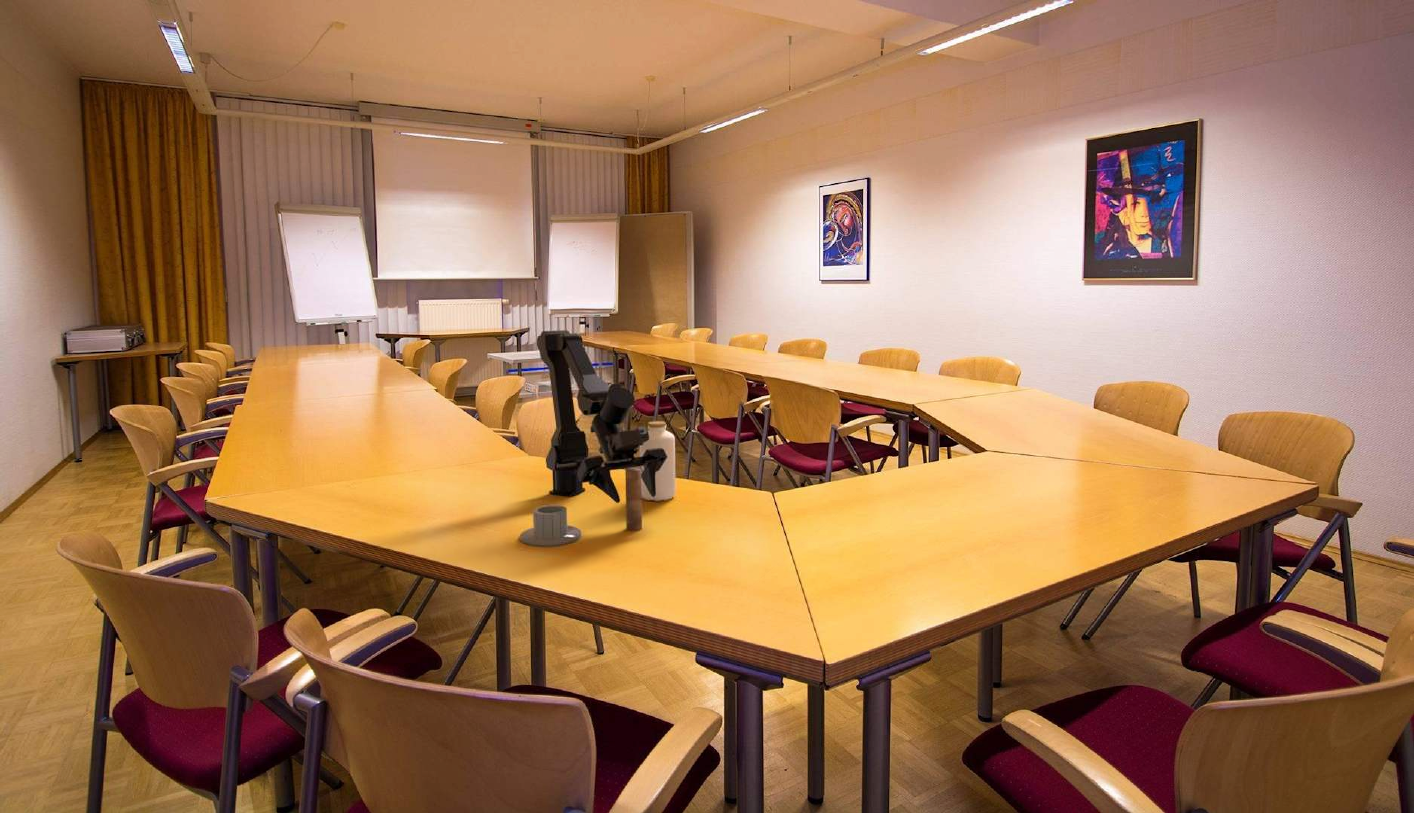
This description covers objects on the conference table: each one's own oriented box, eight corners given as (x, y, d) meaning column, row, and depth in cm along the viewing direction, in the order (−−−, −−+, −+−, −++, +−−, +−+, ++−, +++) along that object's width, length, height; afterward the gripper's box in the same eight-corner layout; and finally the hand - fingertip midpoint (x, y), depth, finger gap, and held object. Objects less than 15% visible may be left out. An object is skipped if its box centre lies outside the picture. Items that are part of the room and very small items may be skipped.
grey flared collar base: (507, 540, 152) (505, 513, 151) (546, 524, 163) (545, 498, 162) (556, 550, 147) (555, 521, 146) (593, 532, 157) (592, 505, 156)
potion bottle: (633, 499, 182) (632, 423, 179) (652, 491, 189) (651, 418, 186) (663, 503, 178) (663, 426, 175) (681, 495, 185) (681, 421, 183)
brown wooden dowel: (623, 529, 159) (622, 470, 157) (631, 525, 162) (630, 467, 160) (636, 531, 158) (635, 471, 156) (644, 527, 160) (644, 468, 158)
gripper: (581, 418, 154) (607, 483, 147) (662, 410, 165) (690, 471, 157) (566, 450, 162) (590, 514, 155) (645, 440, 172) (670, 500, 165)
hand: (636, 498), depth 158 cm, fingers open, 8 cm apart
